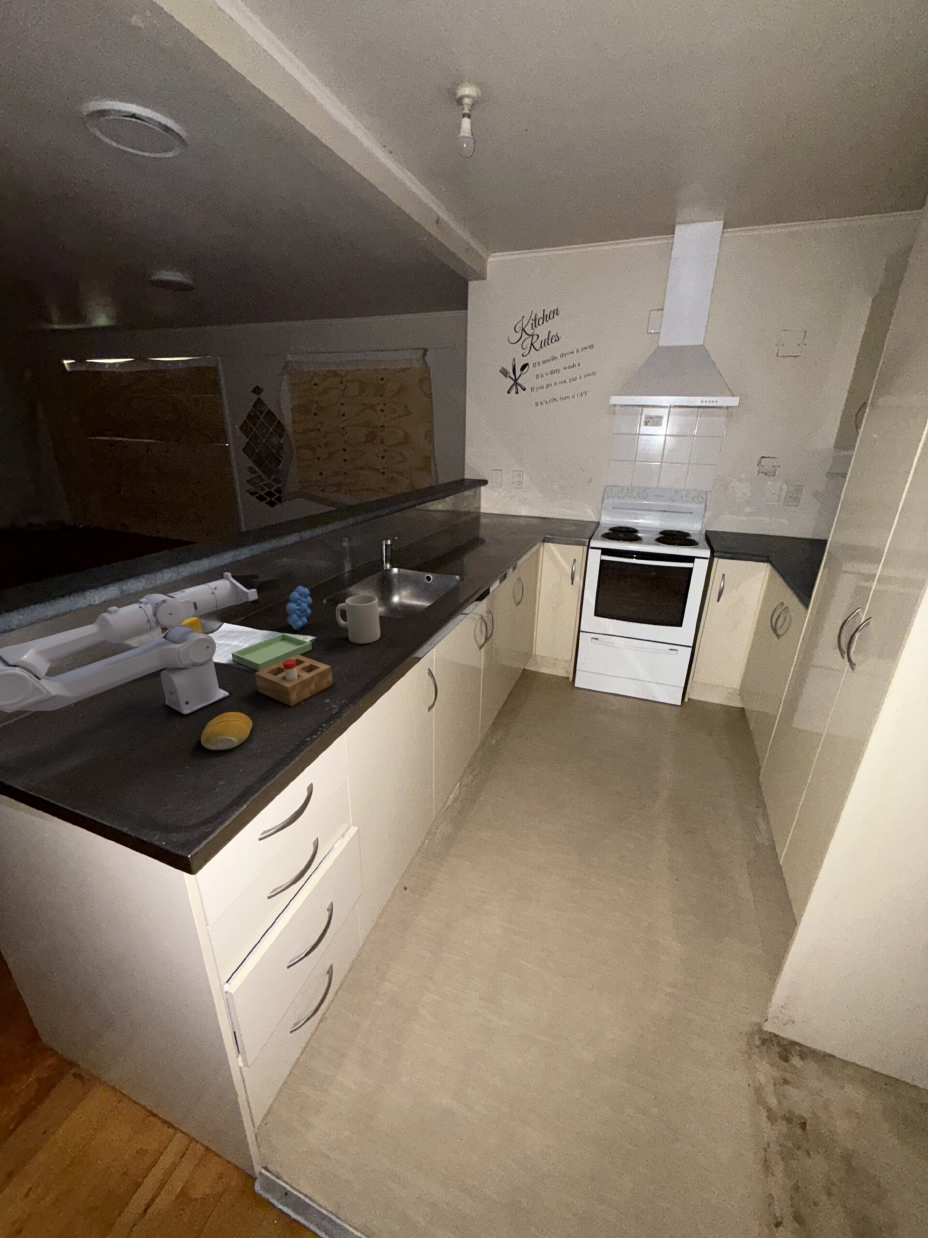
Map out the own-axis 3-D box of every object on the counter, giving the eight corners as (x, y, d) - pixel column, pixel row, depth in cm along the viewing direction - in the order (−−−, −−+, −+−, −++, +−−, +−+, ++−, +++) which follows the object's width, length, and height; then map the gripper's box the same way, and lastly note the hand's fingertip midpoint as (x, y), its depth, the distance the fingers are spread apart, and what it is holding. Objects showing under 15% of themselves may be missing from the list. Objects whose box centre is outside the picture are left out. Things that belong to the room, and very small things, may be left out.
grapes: (299, 618, 146) (293, 580, 142) (319, 620, 145) (315, 581, 140) (277, 633, 135) (271, 592, 131) (299, 635, 134) (293, 594, 130)
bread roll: (255, 721, 94) (252, 703, 93) (247, 748, 86) (243, 729, 85) (209, 726, 92) (205, 708, 91) (196, 754, 84) (191, 735, 83)
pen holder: (291, 706, 99) (288, 687, 98) (257, 691, 105) (254, 673, 103) (333, 684, 108) (331, 666, 106) (300, 671, 114) (297, 654, 112)
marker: (293, 699, 102) (287, 665, 99) (285, 696, 103) (280, 662, 100) (302, 694, 104) (298, 661, 101) (295, 691, 105) (290, 658, 102)
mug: (385, 632, 136) (382, 595, 132) (373, 645, 128) (370, 605, 124) (345, 629, 138) (341, 593, 134) (331, 641, 130) (327, 602, 126)
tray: (260, 671, 114) (259, 664, 113) (232, 660, 119) (231, 652, 119) (312, 649, 125) (311, 642, 125) (284, 639, 131) (283, 633, 131)
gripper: (223, 583, 94) (284, 566, 104) (186, 574, 102) (246, 559, 112) (231, 617, 96) (289, 598, 106) (195, 605, 104) (252, 588, 114)
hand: (267, 580), depth 109 cm, fingers open, 7 cm apart
